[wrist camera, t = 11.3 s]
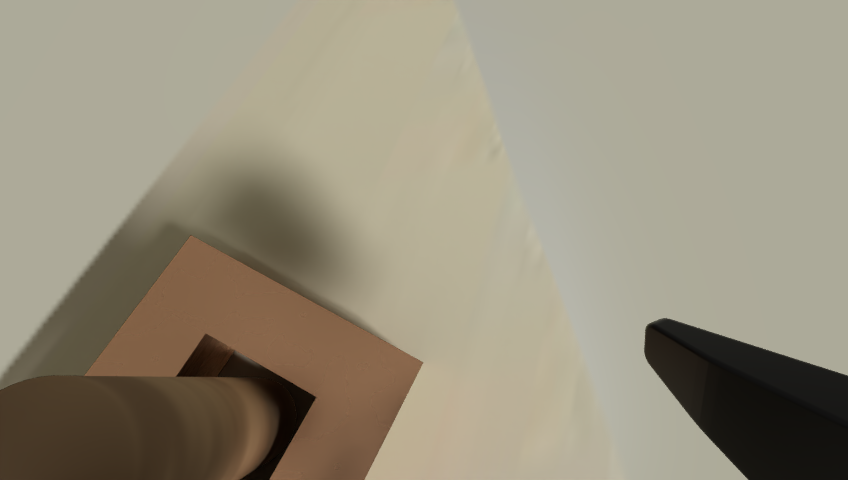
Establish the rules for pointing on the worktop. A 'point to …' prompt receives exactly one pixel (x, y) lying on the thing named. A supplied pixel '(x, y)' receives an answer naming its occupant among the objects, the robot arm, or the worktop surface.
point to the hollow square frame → (268, 356)
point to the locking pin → (142, 427)
